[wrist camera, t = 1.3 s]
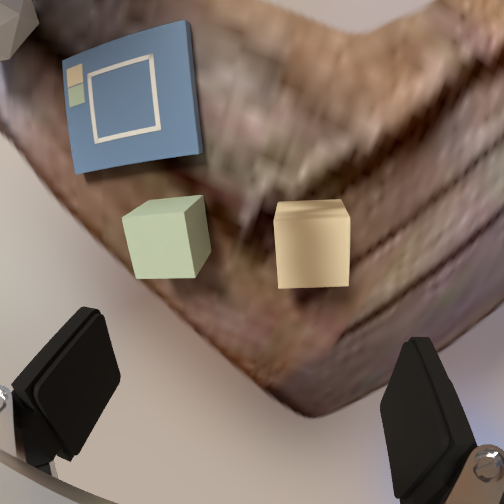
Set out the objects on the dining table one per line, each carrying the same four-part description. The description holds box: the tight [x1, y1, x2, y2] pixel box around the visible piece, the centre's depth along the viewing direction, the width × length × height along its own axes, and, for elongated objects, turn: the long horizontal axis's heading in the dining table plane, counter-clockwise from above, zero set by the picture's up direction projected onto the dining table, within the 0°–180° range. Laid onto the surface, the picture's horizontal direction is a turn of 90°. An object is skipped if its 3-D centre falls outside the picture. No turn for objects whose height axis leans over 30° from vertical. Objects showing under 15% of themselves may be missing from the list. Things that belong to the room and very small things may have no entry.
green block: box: [122, 195, 211, 279], centre depth 25 cm, size 5×5×5 cm
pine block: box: [274, 199, 350, 288], centre depth 24 cm, size 5×5×5 cm
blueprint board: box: [62, 20, 203, 175], centre depth 23 cm, size 12×11×1 cm
